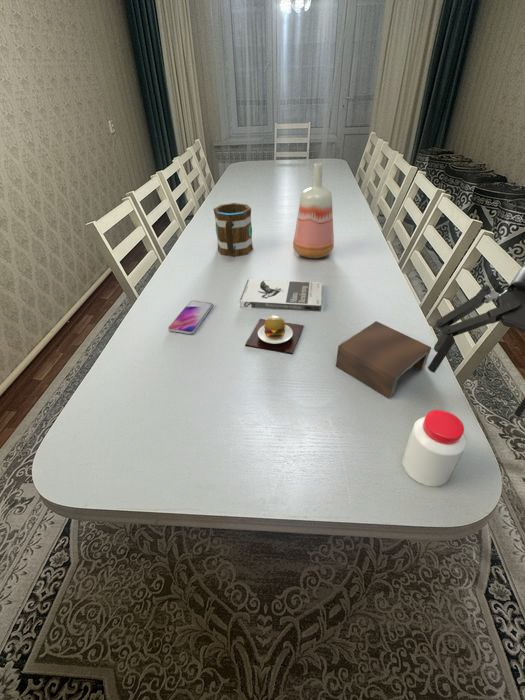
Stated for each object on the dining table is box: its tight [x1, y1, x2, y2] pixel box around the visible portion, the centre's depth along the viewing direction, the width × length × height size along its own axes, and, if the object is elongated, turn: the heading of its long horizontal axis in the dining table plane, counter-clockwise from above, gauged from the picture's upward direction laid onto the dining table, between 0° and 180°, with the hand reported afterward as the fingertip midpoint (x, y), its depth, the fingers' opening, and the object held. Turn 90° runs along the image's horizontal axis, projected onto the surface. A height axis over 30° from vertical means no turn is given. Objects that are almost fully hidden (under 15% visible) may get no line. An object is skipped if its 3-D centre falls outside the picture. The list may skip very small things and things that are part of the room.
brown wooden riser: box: [335, 320, 432, 399], centre depth 79 cm, size 14×14×6 cm
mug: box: [212, 202, 254, 258], centre depth 129 cm, size 20×14×15 cm
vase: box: [292, 162, 335, 259], centre depth 122 cm, size 14×14×30 cm
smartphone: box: [167, 300, 214, 335], centre depth 99 cm, size 7×1×15 cm
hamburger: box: [244, 315, 304, 355], centre depth 90 cm, size 12×12×6 cm
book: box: [239, 278, 323, 313], centre depth 106 cm, size 23×14×2 cm, turn 82°
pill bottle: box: [401, 409, 468, 487], centre depth 58 cm, size 8×8×11 cm
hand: (470, 391), depth 57 cm, fingers open, 13 cm apart
